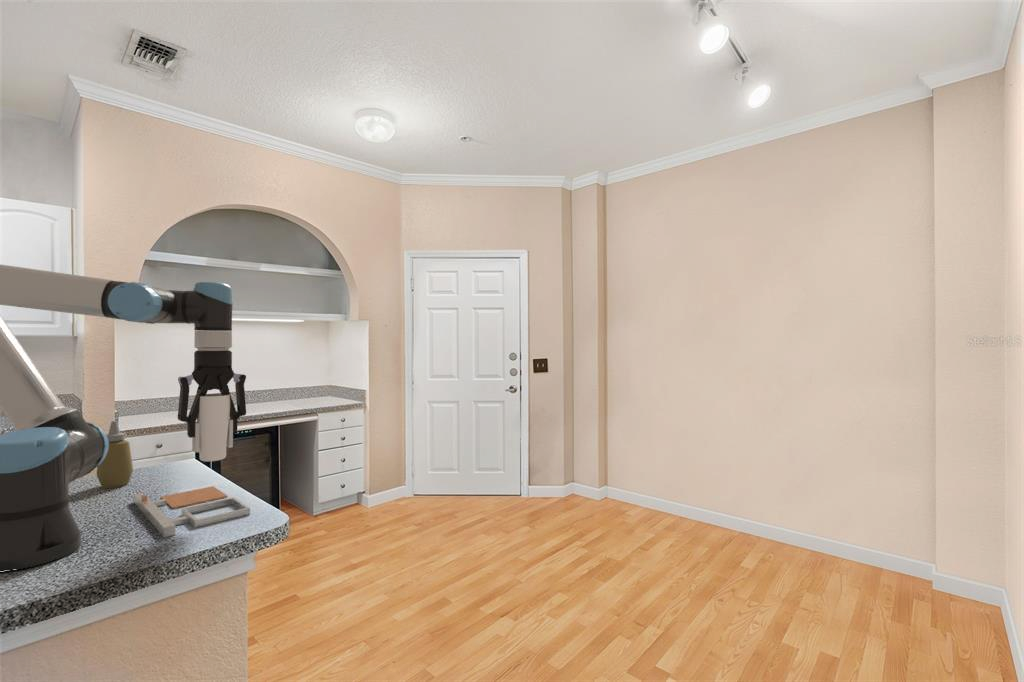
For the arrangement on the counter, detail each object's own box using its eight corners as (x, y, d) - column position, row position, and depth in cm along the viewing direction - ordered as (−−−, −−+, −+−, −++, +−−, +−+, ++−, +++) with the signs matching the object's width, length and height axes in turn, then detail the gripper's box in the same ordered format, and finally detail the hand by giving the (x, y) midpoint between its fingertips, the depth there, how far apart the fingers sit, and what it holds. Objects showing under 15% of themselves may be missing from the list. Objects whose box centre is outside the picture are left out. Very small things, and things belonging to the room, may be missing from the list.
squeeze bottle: (138, 483, 142) (137, 420, 142) (103, 491, 135) (102, 424, 135) (126, 479, 146) (124, 418, 146) (91, 487, 139) (90, 422, 139)
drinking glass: (227, 461, 115) (228, 396, 115) (192, 463, 112) (193, 396, 112) (231, 455, 121) (232, 392, 121) (199, 457, 119) (199, 393, 119)
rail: (254, 515, 116) (254, 502, 116) (164, 537, 104) (163, 523, 104) (212, 486, 139) (211, 476, 139) (133, 502, 126) (133, 490, 126)
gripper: (251, 348, 126) (251, 440, 126) (160, 349, 112) (159, 452, 112) (262, 349, 121) (262, 445, 121) (168, 350, 107) (167, 458, 107)
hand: (212, 448), depth 117 cm, fingers closed on drinking glass, 6 cm apart
